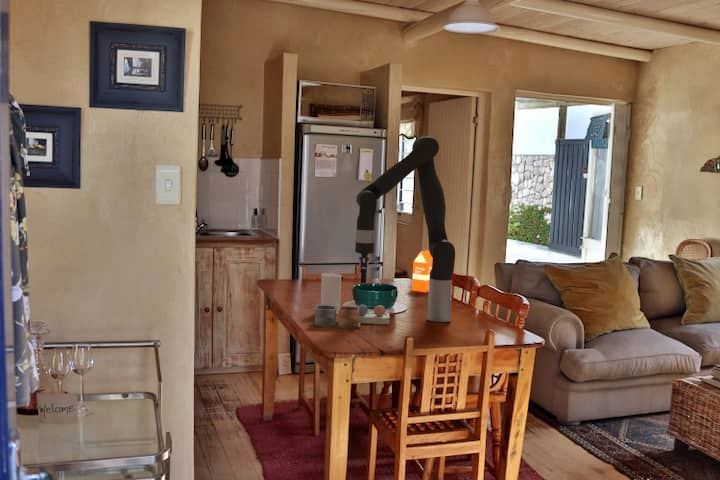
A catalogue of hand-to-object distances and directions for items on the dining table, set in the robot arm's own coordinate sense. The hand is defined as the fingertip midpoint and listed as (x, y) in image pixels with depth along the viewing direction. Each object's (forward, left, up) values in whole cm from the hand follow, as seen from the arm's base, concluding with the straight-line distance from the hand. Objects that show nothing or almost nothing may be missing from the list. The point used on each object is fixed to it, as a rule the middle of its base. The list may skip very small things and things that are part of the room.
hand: (363, 281), depth 277 cm
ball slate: (0, 0, -14) cm, 14 cm away
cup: (+14, -12, -16) cm, 24 cm away
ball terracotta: (-7, 0, -14) cm, 16 cm away
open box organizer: (+10, +10, -16) cm, 21 cm away
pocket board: (-3, 0, -16) cm, 16 cm away
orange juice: (-29, -72, -16) cm, 79 cm away
